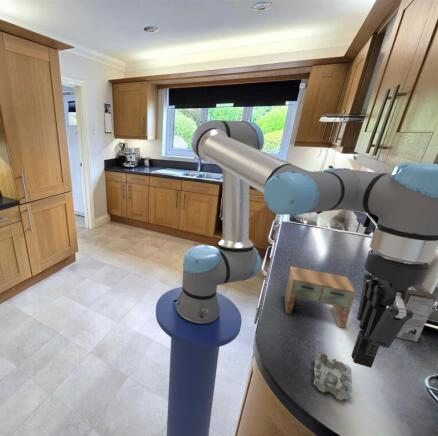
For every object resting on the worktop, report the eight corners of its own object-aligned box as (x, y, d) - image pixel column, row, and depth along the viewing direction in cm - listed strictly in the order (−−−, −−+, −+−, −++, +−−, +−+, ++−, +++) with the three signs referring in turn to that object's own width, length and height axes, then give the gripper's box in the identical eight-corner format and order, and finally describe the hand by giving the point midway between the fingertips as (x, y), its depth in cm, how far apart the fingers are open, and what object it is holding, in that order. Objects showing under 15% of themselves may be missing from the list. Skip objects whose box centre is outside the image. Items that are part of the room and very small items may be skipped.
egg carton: (314, 358, 69) (317, 347, 67) (348, 373, 64) (352, 361, 63) (310, 387, 60) (313, 374, 59) (348, 406, 56) (353, 393, 55)
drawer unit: (286, 313, 87) (293, 279, 82) (284, 297, 95) (290, 266, 91) (344, 328, 80) (356, 292, 75) (336, 310, 88) (346, 276, 84)
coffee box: (378, 318, 85) (392, 277, 80) (401, 322, 82) (418, 281, 78) (391, 336, 77) (408, 292, 72) (418, 342, 74) (438, 297, 69)
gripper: (455, 279, 34) (401, 400, 41) (407, 245, 46) (372, 344, 53) (386, 268, 37) (347, 382, 44) (358, 238, 49) (330, 332, 56)
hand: (360, 361), depth 49 cm, fingers closed
